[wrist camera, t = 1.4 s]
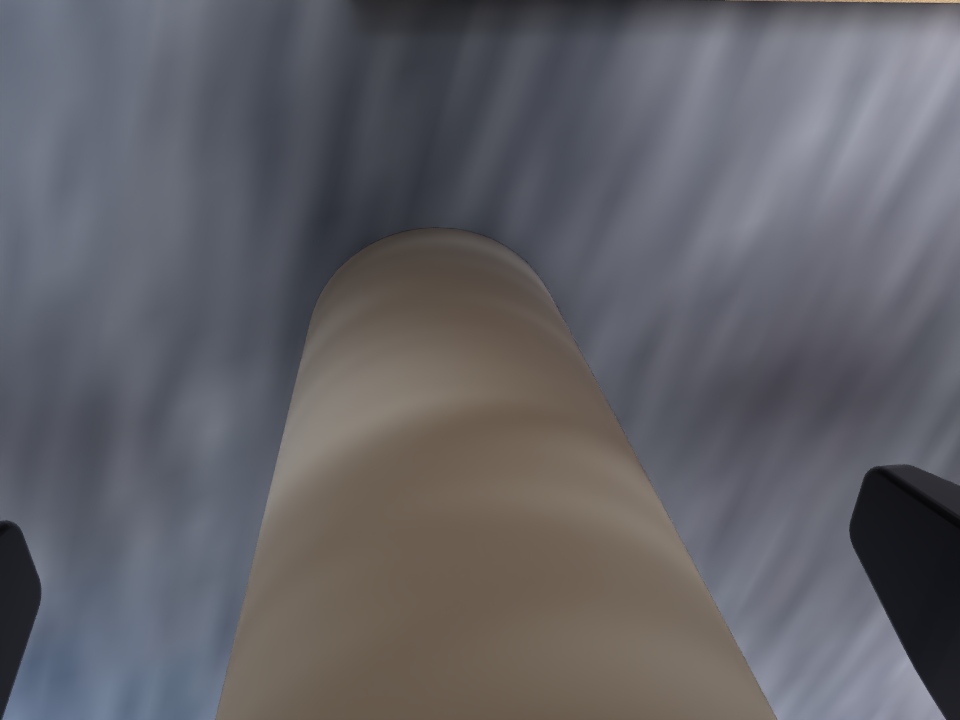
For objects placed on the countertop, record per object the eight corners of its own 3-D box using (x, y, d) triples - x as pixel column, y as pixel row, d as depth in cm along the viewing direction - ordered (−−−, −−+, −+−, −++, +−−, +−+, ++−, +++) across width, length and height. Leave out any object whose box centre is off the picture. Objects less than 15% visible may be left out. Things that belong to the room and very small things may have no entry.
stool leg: (567, 224, 11) (1467, 1387, 2) (552, 447, 12) (954, 1561, 4) (294, 230, 10) (-325, 1804, 1) (320, 460, 12) (129, 1760, 3)
